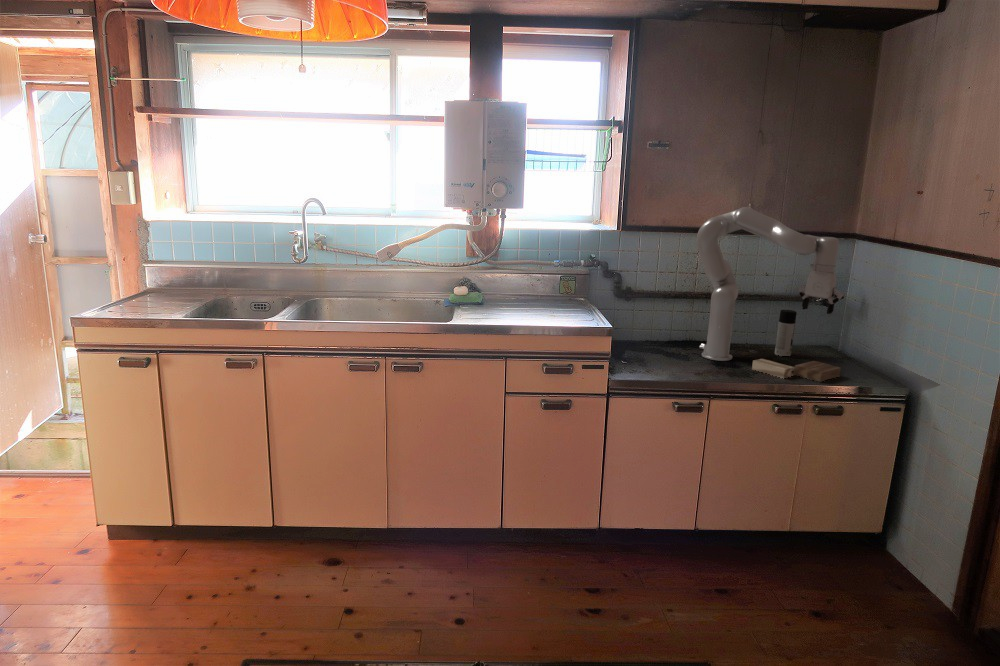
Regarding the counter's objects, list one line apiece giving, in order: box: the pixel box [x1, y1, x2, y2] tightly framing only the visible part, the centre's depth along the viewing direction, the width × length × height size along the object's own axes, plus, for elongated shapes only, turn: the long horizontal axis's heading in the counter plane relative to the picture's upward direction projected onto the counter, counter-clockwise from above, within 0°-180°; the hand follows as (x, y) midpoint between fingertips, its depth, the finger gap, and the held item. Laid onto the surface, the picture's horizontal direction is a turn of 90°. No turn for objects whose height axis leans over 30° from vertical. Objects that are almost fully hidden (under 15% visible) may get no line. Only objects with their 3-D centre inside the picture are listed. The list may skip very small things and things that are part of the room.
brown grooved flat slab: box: [793, 360, 842, 382], centre depth 258 cm, size 12×14×4 cm
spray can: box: [774, 309, 797, 357], centre depth 286 cm, size 7×7×20 cm
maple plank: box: [751, 358, 795, 380], centre depth 260 cm, size 6×14×4 cm, turn 35°
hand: (816, 311), depth 260 cm, fingers open, 9 cm apart
